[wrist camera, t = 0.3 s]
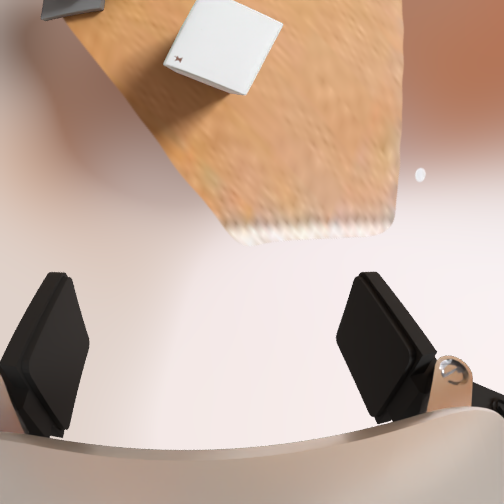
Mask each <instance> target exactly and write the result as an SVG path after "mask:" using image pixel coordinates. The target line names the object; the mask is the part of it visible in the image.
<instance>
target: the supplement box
mask: <svg viewBox="0 0 504 504" xmlns="http://www.w3.org/2000/svg"><path fill="white" fill-rule="evenodd" d="M282 26H283V23H281V22H279V21H276V20H274V19H272V18H270V17H268V16H266V15H264V14H262V13H259V12H257V11H255V10H253V9H251V8H249V7H247V6H244V5H242V4H240V3H238V2H235V1H233V0H196V2H195V4H194V5H193V7H192V9H191V11H190V12H189V14H188V16H187V18H186V20H185V21H184V23H183V25H182V27H181V28H180V31H179V33H178V35H177V37H176V39H175V41H174V43H173V45H172V47H171V49H170V51H169V53H168V55H167V57H166V59H165V61H164V63H163V65H164V66H166V67H168V68H169V69H171V70H173V71H175V72H177V73H179V74H182V75H184V76H187V77H189V78H192V79H194V80H197V81H199V82H202V83H204V84H207V85H209V86H212V87H214V88H217V89H220V90H222V91H225V92H228V93H231V94H238V95H246V94H247V93H248V91H249V89H250V87H251V85H252V83H253V81H254V80H255V78H256V76H257V74H258V72H259V70H260V68H261V66H262V64H263V62H264V60H265V59H266V57H267V55H268V53H269V51H270V49H271V47H272V45H273V43H274V42H275V40H276V38H277V36H278V34H279V32H280V30H281V28H282Z"/></svg>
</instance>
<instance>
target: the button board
mask: <svg viewBox="0 0 504 504" xmlns="http://www.w3.org/2000/svg"><path fill="white" fill-rule="evenodd" d="M104 4H105V0H44V1H43V8H42V14H41V19H42V20H44V21H48V20H52V19H56V18H61V17H66V16H71V15H76V14H82V13H88V12H94V11H101V10H104Z"/></svg>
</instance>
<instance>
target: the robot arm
mask: <svg viewBox="0 0 504 504" xmlns="http://www.w3.org/2000/svg"><path fill="white" fill-rule="evenodd" d="M336 341H337V344H338V346H339V348H340V351H341V353H342V355H343V357H344V359H345V361H346V364H347V366H348V368H349V370H350V372H351V374H352V376H353V379H354V381H355V383H356V385H357V388H358V390H359V392H360V394H361V396H362V399H363V401H364V403H365V405H366V408H367V410H368V412H369V414H370V415H371V416H372V417H375V420H376V422H377V424H380V423H384V422H388V421H391V420H392V421H393V422H391V423H388V424H384V425H380V426H376V427H371V428H367V429H363V430H359V431H354V432H350V433H345V434H340V435H335V436H330V437H325V438H319V439H313V440H307V441H301V442H293V443H286V444H278V445H269V446H260V447H250V448H235V449H217V450H153V449H135V448H122V447H110V446H102V445H93V444H85V443H78V442H71V441H64V440H58V439H52V438H50V436H55V437H61V438H63V435H64V430H65V429H66V430H67V429H68V428H69V426H70V421H71V417H72V412H73V408H74V403H75V399H76V395H77V390H78V387H79V383H80V379H81V375H82V371H83V368H84V364H85V360H86V357H87V353H88V349H89V337H88V334H87V331H86V328H85V324H84V321H83V318H82V315H81V311H80V308H79V304H78V300H77V297H76V293H75V289H74V285H73V281H72V279H71V278H70V277H68V276H67V275H66V273H60V272H50V273H48V274H47V276H46V278H45V279H44V281H43V283H42V284H41V286H40V288H39V289H38V291H37V293H36V295H35V296H34V298H33V299H32V301H31V303H30V305H29V307H28V308H27V310H26V312H25V314H24V316H23V317H22V319H21V321H20V323H19V325H18V327H17V329H16V330H15V332H14V334H13V336H12V338H11V341H10V342H9V344H8V346H7V348H6V351H5V353H4V355H3V357H2V359H1V361H0V504H504V395H502V394H500V393H497V392H495V391H493V390H490V389H488V388H486V387H483V386H481V385H479V384H476V383H474V382H473V377H472V372H471V370H470V368H469V367H468V366H467V364H466V363H465V362H463V361H462V360H461V359H459V358H457V357H454V356H443V357H440V358H439V359H438V360H436V358H435V354H436V353H437V351H436V350H435V348H434V347H433V346H432V344H431V343H430V341H429V340H428V338H427V337H426V335H425V334H424V333H423V331H422V330H421V329H420V327H419V326H418V324H417V323H416V322H415V321H414V319H413V318H412V316H411V315H410V314H409V312H408V311H407V310H406V308H405V307H404V306H403V304H402V303H401V302H400V300H399V299H398V298H397V297H396V295H395V294H394V293H393V291H392V290H391V289H390V287H389V286H388V285H387V284H386V282H385V281H384V280H383V279H382V277H381V276H380V275H379V274H378V273H377V272H361V273H360V274H359V276H357V277H356V278H355V279H354V281H353V285H352V288H351V291H350V294H349V298H348V301H347V304H346V307H345V310H344V313H343V316H342V319H341V323H340V325H339V328H338V331H337V335H336Z"/></svg>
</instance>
